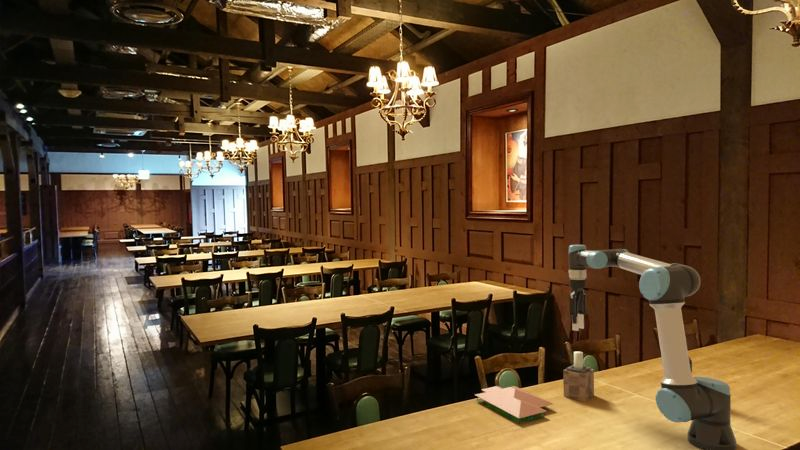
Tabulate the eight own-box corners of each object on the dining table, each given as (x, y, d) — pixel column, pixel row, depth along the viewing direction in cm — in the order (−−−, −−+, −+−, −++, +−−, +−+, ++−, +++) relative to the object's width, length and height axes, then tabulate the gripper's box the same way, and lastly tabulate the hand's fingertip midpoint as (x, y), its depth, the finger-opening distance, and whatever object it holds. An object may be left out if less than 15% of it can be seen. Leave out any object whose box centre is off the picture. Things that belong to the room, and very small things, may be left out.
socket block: (584, 401, 226) (584, 372, 226) (563, 396, 233) (563, 368, 233) (594, 395, 233) (593, 367, 233) (573, 390, 240) (572, 363, 240)
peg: (581, 380, 230) (580, 354, 230) (572, 378, 233) (572, 352, 233) (584, 378, 233) (584, 352, 233) (576, 376, 236) (576, 350, 235)
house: (510, 391, 242) (510, 374, 242) (561, 415, 213) (561, 395, 213) (471, 399, 232) (470, 382, 232) (518, 426, 203) (518, 406, 202)
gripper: (577, 275, 241) (578, 324, 241) (560, 280, 228) (561, 331, 228) (593, 277, 236) (594, 326, 236) (577, 281, 223) (577, 334, 223)
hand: (578, 329), depth 232 cm, fingers open, 5 cm apart
